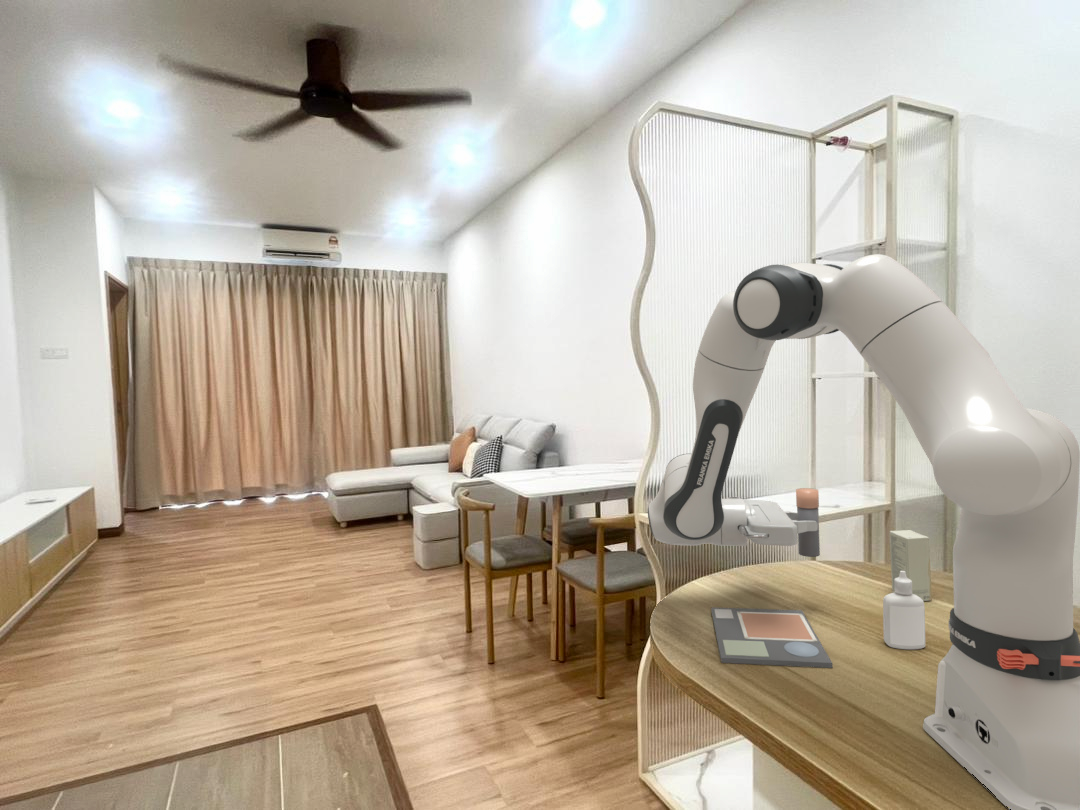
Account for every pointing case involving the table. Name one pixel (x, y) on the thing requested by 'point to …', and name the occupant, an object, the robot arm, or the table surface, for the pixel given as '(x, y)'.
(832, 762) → the table surface
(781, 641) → the picture board
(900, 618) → the eye dropper bottle
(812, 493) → the terracotta marker
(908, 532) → the skincare box
